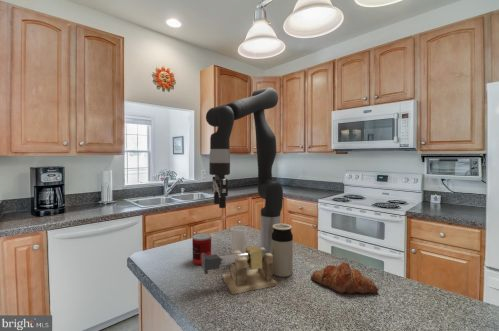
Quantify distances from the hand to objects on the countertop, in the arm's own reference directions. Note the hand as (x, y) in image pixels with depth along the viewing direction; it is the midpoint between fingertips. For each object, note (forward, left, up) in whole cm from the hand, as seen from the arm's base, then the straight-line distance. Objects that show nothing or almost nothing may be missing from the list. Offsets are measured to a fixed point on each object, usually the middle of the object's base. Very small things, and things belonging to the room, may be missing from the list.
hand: (219, 205), depth 93 cm
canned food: (+4, -16, -27) cm, 31 cm away
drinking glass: (-10, -8, -27) cm, 30 cm away
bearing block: (-9, +7, -26) cm, 29 cm away
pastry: (-38, +21, -27) cm, 51 cm away
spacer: (-11, +7, -18) cm, 22 cm away
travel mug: (-23, +5, -27) cm, 36 cm away
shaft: (-4, +7, -20) cm, 22 cm away
